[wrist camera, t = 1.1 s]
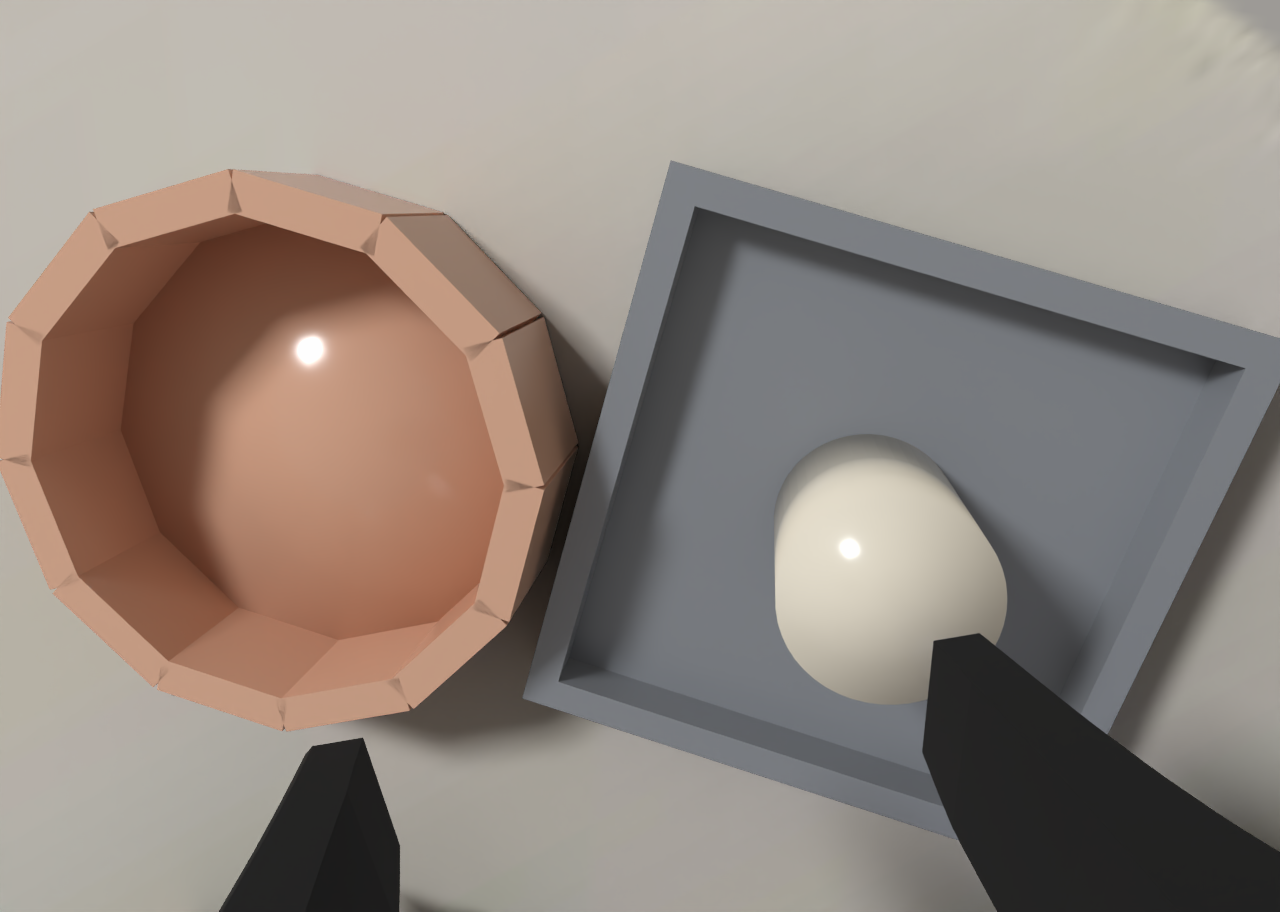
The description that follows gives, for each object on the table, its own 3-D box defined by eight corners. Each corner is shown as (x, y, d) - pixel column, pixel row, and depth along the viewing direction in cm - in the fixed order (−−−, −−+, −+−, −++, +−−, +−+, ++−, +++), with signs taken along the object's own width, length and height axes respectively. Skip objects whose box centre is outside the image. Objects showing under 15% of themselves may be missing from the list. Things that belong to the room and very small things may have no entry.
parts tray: (1252, 331, 19) (1299, 344, 18) (1021, 817, 23) (1042, 867, 21) (679, 164, 20) (670, 160, 18) (540, 662, 24) (522, 698, 22)
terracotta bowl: (626, 267, 21) (600, 279, 17) (506, 710, 24) (464, 791, 21) (140, 122, 21) (24, 106, 18) (88, 573, 25) (-19, 631, 21)
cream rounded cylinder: (985, 465, 20) (1043, 536, 16) (919, 626, 21) (957, 732, 17) (806, 411, 20) (816, 466, 16) (751, 573, 22) (746, 665, 17)
